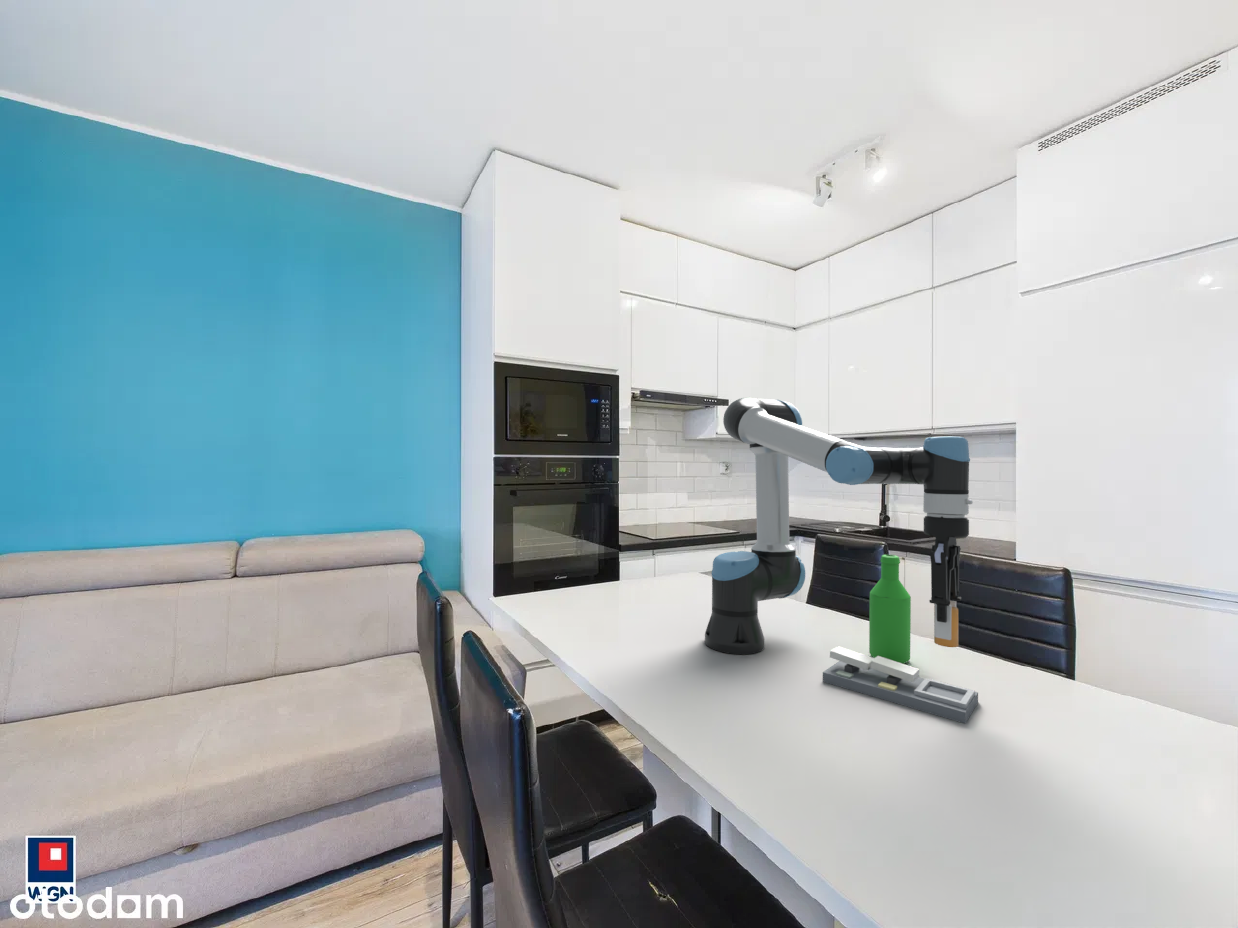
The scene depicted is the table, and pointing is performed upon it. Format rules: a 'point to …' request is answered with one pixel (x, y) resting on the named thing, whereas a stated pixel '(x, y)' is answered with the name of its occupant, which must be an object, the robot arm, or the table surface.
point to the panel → (906, 691)
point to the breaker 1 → (851, 657)
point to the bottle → (890, 614)
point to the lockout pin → (954, 632)
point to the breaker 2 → (894, 668)
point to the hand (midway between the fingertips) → (945, 635)
